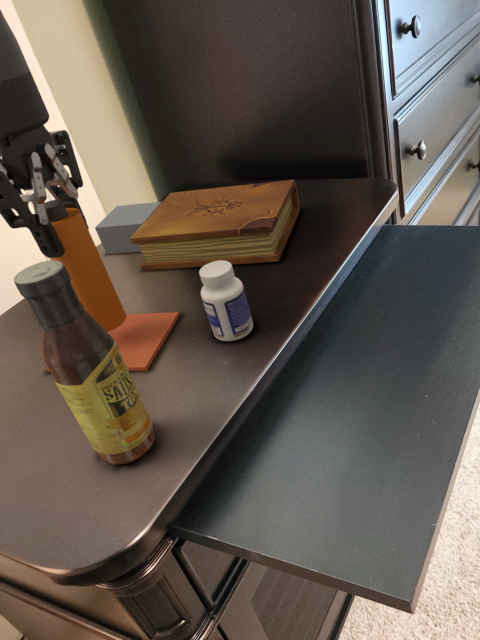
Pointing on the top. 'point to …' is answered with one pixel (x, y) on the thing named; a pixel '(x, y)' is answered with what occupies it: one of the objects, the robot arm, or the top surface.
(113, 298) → the amber bottle
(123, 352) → the mat
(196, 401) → the top surface
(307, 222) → the top surface
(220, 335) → the pill bottle
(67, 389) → the sauce bottle
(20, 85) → the robot arm
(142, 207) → the grey stand
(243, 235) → the diary
